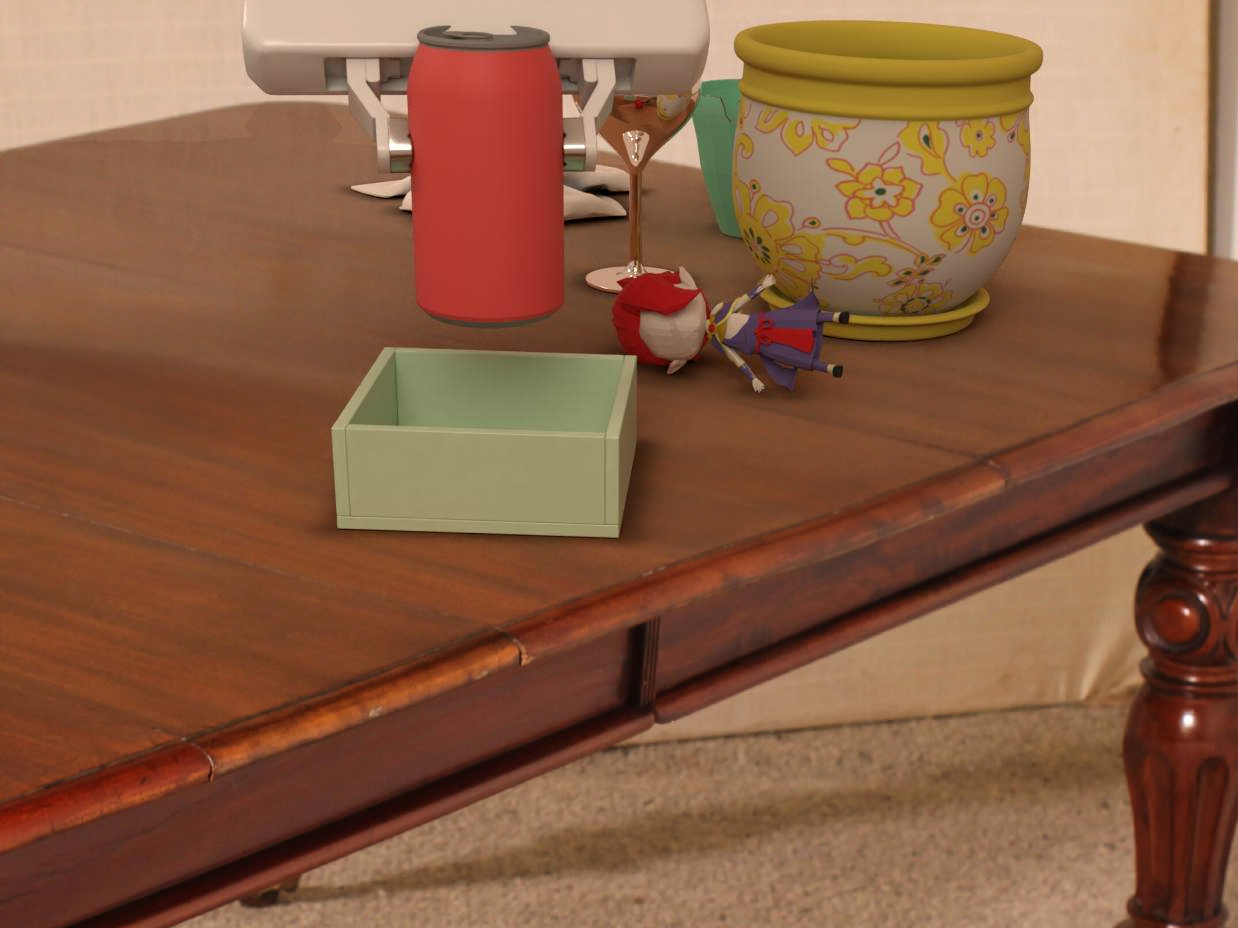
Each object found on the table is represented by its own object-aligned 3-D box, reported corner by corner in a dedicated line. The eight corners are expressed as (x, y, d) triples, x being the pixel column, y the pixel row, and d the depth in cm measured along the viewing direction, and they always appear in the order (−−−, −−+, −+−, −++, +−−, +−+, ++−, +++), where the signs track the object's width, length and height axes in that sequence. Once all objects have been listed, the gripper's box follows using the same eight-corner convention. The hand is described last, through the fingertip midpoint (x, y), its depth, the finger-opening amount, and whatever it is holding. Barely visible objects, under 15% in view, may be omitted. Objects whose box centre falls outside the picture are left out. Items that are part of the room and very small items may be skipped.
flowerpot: (894, 375, 105) (915, 71, 98) (665, 309, 116) (669, 32, 109) (1075, 318, 117) (1104, 45, 110) (852, 264, 128) (867, 12, 121)
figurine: (815, 408, 97) (558, 368, 102) (869, 399, 104) (627, 363, 110) (830, 282, 95) (568, 249, 101) (883, 282, 103) (638, 251, 108)
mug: (694, 247, 131) (698, 100, 127) (678, 216, 140) (681, 77, 136) (900, 247, 133) (910, 102, 129) (872, 216, 142) (880, 80, 138)
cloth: (638, 177, 152) (639, 100, 150) (648, 230, 135) (648, 143, 133) (358, 173, 150) (354, 94, 148) (332, 226, 133) (327, 137, 131)
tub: (337, 528, 82) (331, 427, 80) (388, 437, 93) (384, 346, 91) (618, 538, 82) (619, 437, 80) (636, 445, 93) (637, 355, 91)
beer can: (462, 286, 88) (453, 18, 83) (590, 304, 86) (589, 29, 81) (387, 320, 82) (373, 34, 77) (522, 340, 80) (516, 47, 75)
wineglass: (545, 279, 122) (542, -13, 114) (639, 260, 127) (641, -20, 120) (630, 305, 117) (632, 1, 109) (724, 284, 122) (732, -7, 115)
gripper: (223, -152, 80) (231, 122, 76) (696, -142, 84) (731, 120, 80) (237, -51, 86) (245, 209, 81) (678, -46, 90) (710, 203, 85)
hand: (489, 165), depth 81 cm, fingers closed on beer can, 6 cm apart
